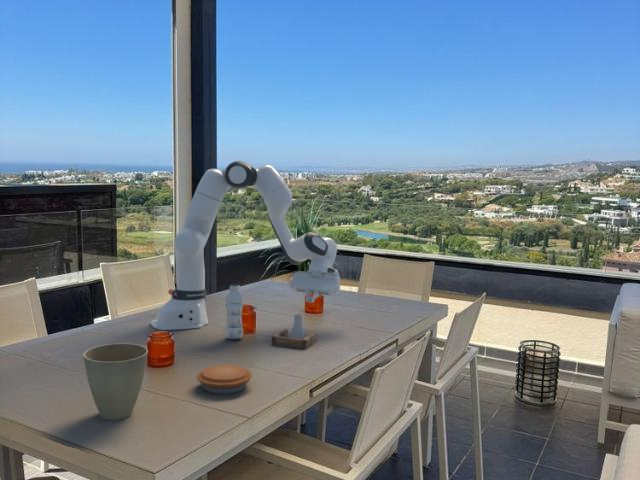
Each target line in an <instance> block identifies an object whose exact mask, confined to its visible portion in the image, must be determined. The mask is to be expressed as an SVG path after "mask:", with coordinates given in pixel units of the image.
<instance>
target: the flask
mask: <svg viewBox="0 0 640 480" xmlns="http://www.w3.org/2000/svg"><path fill="white" fill-rule="evenodd" d="M293 316H294V320H293V325H292V327H291V330H290V333H289V334H288V337H290V338H298V339H304V338H306V337H307V336H306V334H305V333H306V332H305V330H304V326H303V320H302V319H303V314H302V313H294V314H293Z"/></svg>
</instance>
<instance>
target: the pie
mask: <svg viewBox="0 0 640 480" xmlns="http://www.w3.org/2000/svg"><path fill="white" fill-rule="evenodd" d="M252 376H253V375H252V372H251V371H250V370H249V369H246V368H245V367H244V368H243V367H242V366H238V365H232V364H220V365H214V366H209V367H207V368H205V369H203V370H200V372H198V373H197V374H196V380H197V381H198V382H199V383H200V385H201V386H202V388H203V389H204V390H205V391H206V392H208V393H210V394H214V395H231V394H237V393H240V392H241V391H243V390H244V389H245V387H246V386H247V384H248V382H249V381H250V380H251V378H252Z"/></svg>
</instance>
